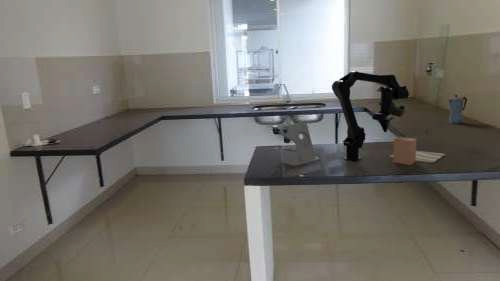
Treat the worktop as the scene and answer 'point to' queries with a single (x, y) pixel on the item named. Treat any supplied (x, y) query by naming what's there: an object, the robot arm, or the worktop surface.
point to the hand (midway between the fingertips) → (385, 132)
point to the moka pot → (456, 109)
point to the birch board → (426, 156)
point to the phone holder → (298, 145)
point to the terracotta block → (404, 150)
